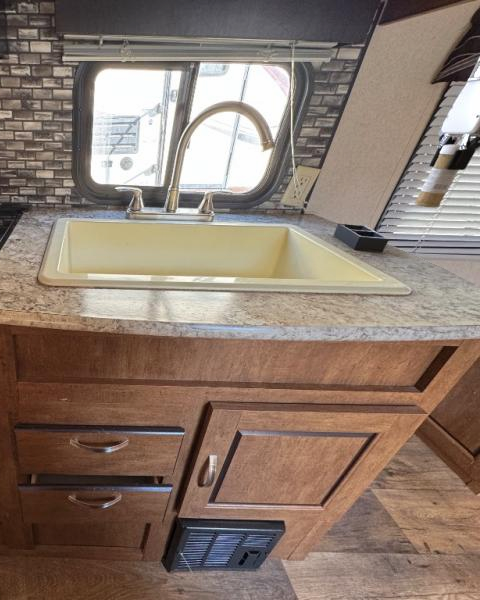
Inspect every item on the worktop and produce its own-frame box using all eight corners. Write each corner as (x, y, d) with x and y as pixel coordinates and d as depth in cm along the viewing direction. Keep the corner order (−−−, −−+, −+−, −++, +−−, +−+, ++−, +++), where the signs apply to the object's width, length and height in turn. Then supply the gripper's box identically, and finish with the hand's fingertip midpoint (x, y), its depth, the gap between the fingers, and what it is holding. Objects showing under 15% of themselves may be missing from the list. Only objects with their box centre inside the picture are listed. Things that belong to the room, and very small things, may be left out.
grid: (358, 237, 104) (364, 225, 102) (382, 252, 92) (389, 238, 90) (333, 235, 105) (338, 223, 103) (353, 249, 94) (359, 236, 91)
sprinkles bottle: (438, 205, 77) (472, 144, 70) (438, 208, 74) (474, 145, 67) (412, 202, 80) (443, 144, 73) (412, 205, 77) (444, 144, 70)
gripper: (567, 64, 56) (498, 173, 65) (485, 76, 70) (438, 164, 79) (514, 65, 57) (454, 172, 66) (444, 77, 72) (403, 163, 81)
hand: (446, 167), depth 73 cm, fingers closed on sprinkles bottle, 4 cm apart
